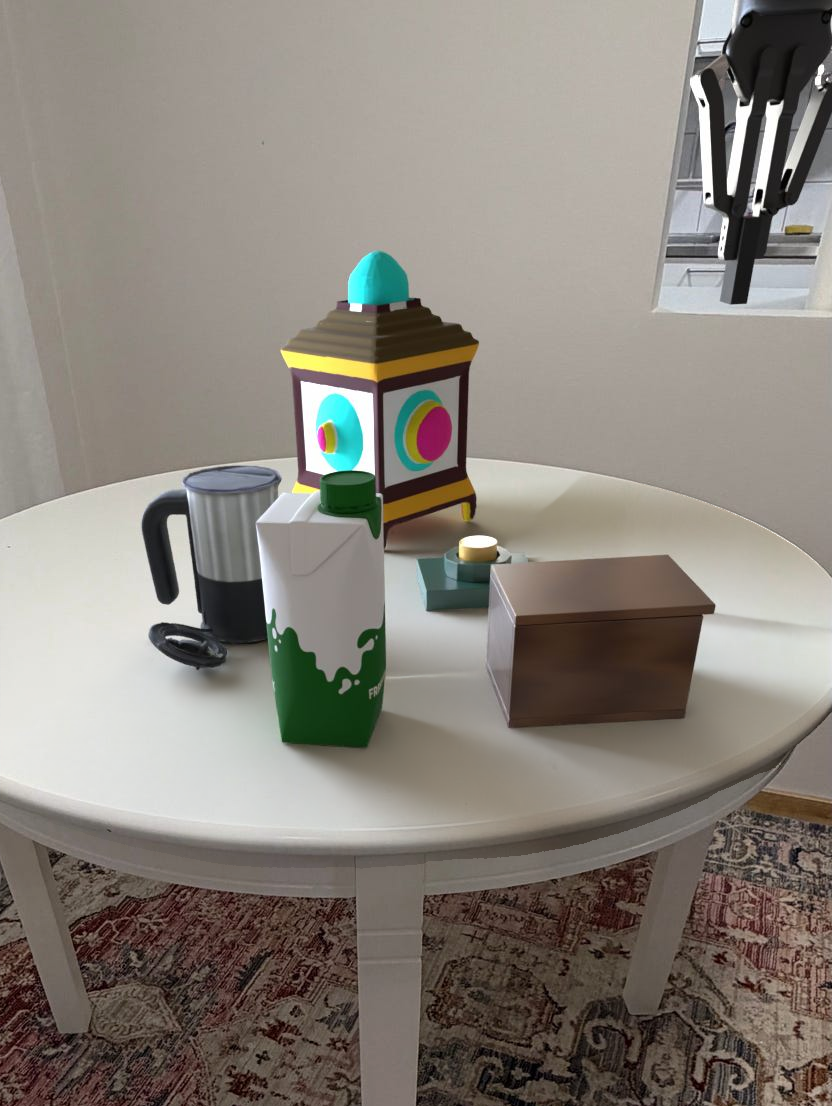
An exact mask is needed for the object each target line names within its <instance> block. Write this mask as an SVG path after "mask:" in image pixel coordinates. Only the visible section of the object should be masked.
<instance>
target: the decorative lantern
mask: <svg viewBox="0 0 832 1106" xmlns="http://www.w3.org/2000/svg"><path fill="white" fill-rule="evenodd" d="M347 288H348V290H347V292H348V293H347V298H348V299H345V300H337V301H336V307H335V309H332V310H329V311H328V312H327V314H326V315H325V318H322V319H320V320H318V321H317V323H316V325H315V326H311V327H305V328H300V329H299V330H297V331H296V335H295V336H292V337H290V338H289V339H287V342H286V344H285V345H284V346H282V347H281V348H280V353H281V355H282V357H283V359H284V362H285V364H286V365H287V367H288V370H289V372H290V376H291V386H292V400H293V415H294V428H295V430H294V432H295V445H296V459H297V478H296V482H295V484H294V487H293V489H292V491H291V493H314V492H315V491H320V478H321V477H322V476H323V475H325V474H328V473H331V472H336V471H345V470H358V471H366V472H370V473H372V474H374V475H375V477H376V493H379V494H382V495H383V539H384V551H385V550H386V547H387V542H388V541H387V540H388V535H389V531H390V530H391V528H393V527H394V526H397V525H400V524H403V523H407V522H409V521H412V520H416V519H418V518H421V517H424V516H428V515H430V514H433V513H436V512H440V511H443V510H445V509H449V508H452V507H455V506H458V505H460V504H461V515H462V519H463V520H464V521H465V522H471V521H473V519H475V516H476V513H477V493H476V490H475V488H474V486H473V484H472V482H471V479H470V477H469V475H468V471H467V454H468V453H467V451H468V449H467V448H468V419H469V385H470V369H471V365H472V362H473V360H474V358H475V356H476V354H477V351H478V349H479V346H480V341H479V340H478V339H476V338H474V337H473V334H472V332H470V331H468V330H464V328H463V326H462V324H460V323H459V322H458V323H457V322H448V321H443V320H442V317H441V316H440V315H436V314H434V313H433V312H432V310H431V309H430V307H427V306H425V305H422V301H421V300H422V299H421V298H419V297H410V285H409V278H408V275H407V271H406V270H405V269H404V268H403V267H402V266H401V265H400V263H399V262H398V260H396V259H395V258H394V257H393V256H392V255H390V254H389V253H387V252H386V251H382V250H375V251H372V252H369V253H368V254H367V255H365V256H364V257H362V259H361V260H360V261H359V262H358V264H357V265H356V266H355V268H354V269H353V271H352V272H351V273H350V275H349V279H348V284H347Z"/></svg>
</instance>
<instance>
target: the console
mask: <svg viewBox="0 0 832 1106" xmlns="http://www.w3.org/2000/svg"><path fill="white" fill-rule="evenodd" d="M443 555H444V556H441V557H440V556H439V557H438V556H437V557H421V558H416V580H417V583H418V588H419V591H420V594H421V598H422V601H423V605H424V608H425V611H426V612H434V611H435V612H437V611H450V610H451V611H454V610H471V609H489V592H490V574H491V573H490V572H491V565H492V564H510V563H528V562H530V561H529V559H528V558H527V555H526V554H525V552H513V553H511V552H510V550H509V549H508V548H505V547H502V546H500V545H497V559H494V560H491V561H487V562H471V561H464V560H462V559H459V545H457V546H454V547H451V548H449V549H448V550H447V551H446V552H444V554H443Z"/></svg>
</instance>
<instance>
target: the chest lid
mask: <svg viewBox="0 0 832 1106" xmlns="http://www.w3.org/2000/svg"><path fill="white" fill-rule="evenodd" d="M490 573H491V575H492V577H493V579H494V581H495V583H496V586H497V588H498V590H499V592H500V594H501V596H502V598H503V600H504V602H505V605H506V607H507V609H508V611H509V613H510V615H511V617H512V619H513V621H514V624H515V625H532V624H550V623H567V622H585V621H602V620H620V619H637V618H655V617H672V616H689V615H703V616H705V615H715V611H716V607H717V605H716V603H715V602H714V601H713V600H712V599H711V598H710V597H709V595H707V594H706V593H705V591H703V589H701V587H700V586H698V584H697V583H696V582H695V581H694V580H693V579H692V578H691V577H690V576H689V575H688V574H687V572H685V571H684V570H683V569H682V567H680V565H679V564H678V563H677V562H676V561H675V560H674V559H673V558H672V557H671V555H669V554H655V555H652V554H651V555H638V556H637V555H636V556H635V555H634V556H619V557H602V558H585V559H584V558H582V559H566V560H547V561H529V562H528V563H510V564H492V565H491V572H490Z"/></svg>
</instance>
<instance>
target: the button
mask: <svg viewBox="0 0 832 1106" xmlns="http://www.w3.org/2000/svg"><path fill="white" fill-rule="evenodd" d="M498 543H499V542H498V540H497V539H496V538H494V537H492V536H487V535H470V536H465V537H463V538H461V539H460V540H459V542H458V546H459V559H462V560H464V561H471V562H487V561H491V560H494V559H497V546H498Z"/></svg>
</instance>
